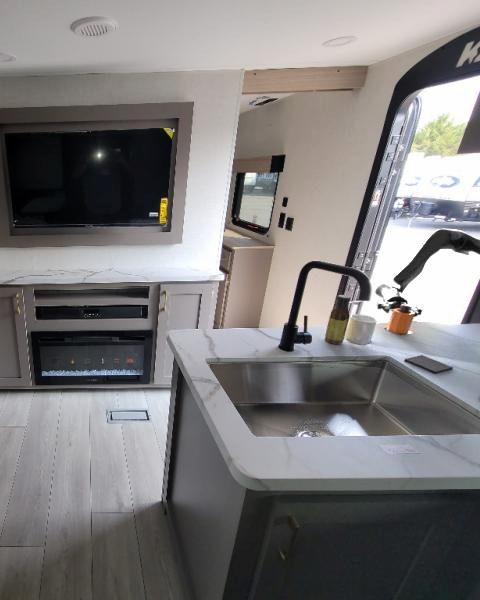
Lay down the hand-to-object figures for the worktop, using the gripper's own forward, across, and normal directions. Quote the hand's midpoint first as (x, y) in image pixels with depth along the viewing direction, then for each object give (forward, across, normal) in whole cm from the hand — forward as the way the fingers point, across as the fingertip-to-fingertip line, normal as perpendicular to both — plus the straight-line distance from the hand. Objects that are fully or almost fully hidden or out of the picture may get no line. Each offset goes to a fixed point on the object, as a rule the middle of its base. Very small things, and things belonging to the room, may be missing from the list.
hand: (401, 312), depth 140 cm
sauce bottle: (+26, -23, +9) cm, 35 cm away
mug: (+22, -15, +9) cm, 28 cm away
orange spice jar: (+3, 0, +7) cm, 8 cm away
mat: (+30, +4, +8) cm, 32 cm away
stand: (+3, 0, +8) cm, 9 cm away
